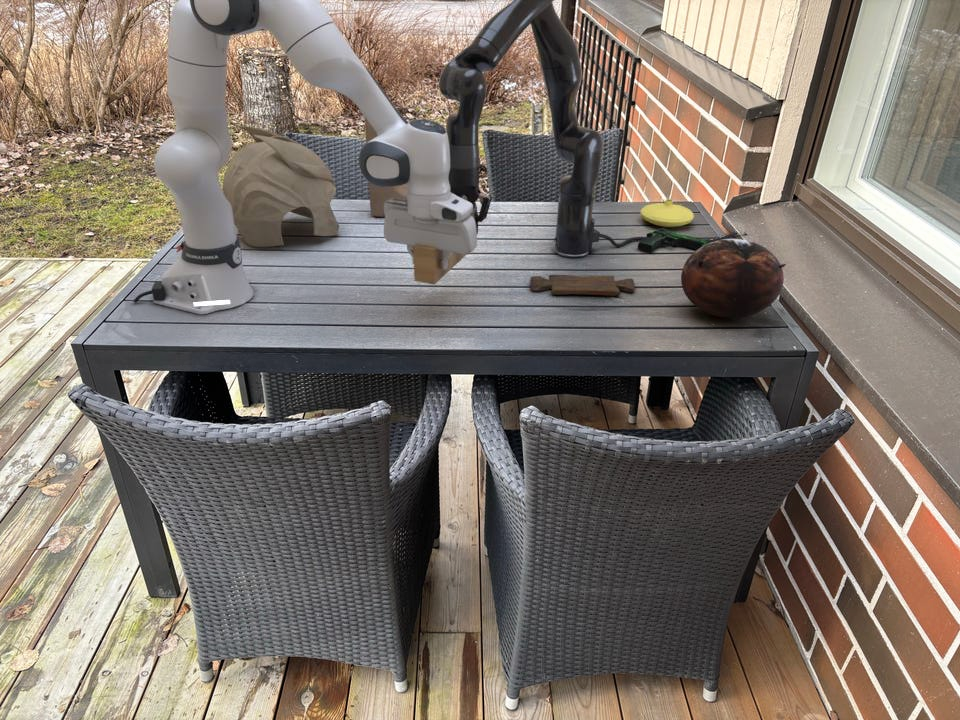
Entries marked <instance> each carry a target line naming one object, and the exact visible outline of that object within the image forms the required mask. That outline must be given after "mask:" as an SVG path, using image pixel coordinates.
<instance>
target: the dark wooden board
mask: <svg viewBox="0 0 960 720" xmlns="http://www.w3.org/2000/svg"><path fill="white" fill-rule="evenodd" d="M529 278H530V285H529V286H530V291H531V292H542V291H547V290H551V294H552V295H556V296H557V295H558V296H559V295H560V296H562V295H588V296H589V295H592V296H612V297H613V296H614V297H615V296H619V295H621V291H623V292H627V293H634V290H635V282H634V279H633V278H625V279H619V280H618V279H617V280H615V276H614V275H573V274H572V275H570V274H549V275H548V279H547V278H546V277H543V276H540V275H534V276H530V277H529Z"/></svg>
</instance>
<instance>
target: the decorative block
mask: <svg viewBox="0 0 960 720" xmlns="http://www.w3.org/2000/svg"><path fill="white" fill-rule="evenodd" d="M363 117H364V133H365V144H367V143H368V142H369V141H370V140H372V139H374V138H375V137H377V136H378V135H377V133H376V131H375V130H374V128H373V127H372V126H371V124H370V123H369V122H368V120H367V119H366V118H365V116H363ZM368 187H369V189H368V191H369V206H370V216H371V217H378V218H385V214H384V204H385V202H386V201H387V200H390V198H395V199H399V200H407V187H406V185H398V186H387V187H380V186H376V185H374V184H372V183H370V182H369V181H368ZM389 203H390V202H389Z"/></svg>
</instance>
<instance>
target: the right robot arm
mask: <svg viewBox="0 0 960 720" xmlns="http://www.w3.org/2000/svg"><path fill="white" fill-rule="evenodd" d="M553 1H554V0H512V1H511V2H510V3H508V4H507V5H506V6H504V7H503V8H502V9H500V10H499V11H498V12H496V13H495V14H494V15H493V16H492V17H490V18H489V20H487V22H486V23H485V24H484V25H483V27H482V28H481V29H480V31H479V32H478V33H477V34H476V36H475V37H474V39H473V40H472V42H470V44H469V45H467V47H465V48H464V49H462V50H461V51H460V52H459V53H457V55H456V56H455V57H454V58H451V60H450V61H449V62H447V64H446V65H445V66H444V68H443V69H442V71H441V73H440V76H439V79H438V89H439V92H440V93H441V95H442V97H444V98H446V99H448V100H451V101H455V102H459V106H458V109H457V112H452V113H450V114H449V115H448V116H447V118H446V122H445V123H446V124H445V125H446V126H445V127H446V128H445V130H446V132H447V135H448V140H449V148H450V172H449V177H448V179H449V184H450V192H451V193H453V194H454V195H456V196H458V197H460V198H462V199H464V200H466V201H468V202H470V203H472V204H473V211H472V213H471V214H470V215H471V216H472V217H473V218H474V220H475V223H476V230H477V235H478V234H479V223H483V221H484V220H486V219H487V217H488V213H489V210H490V206H491V204H492V203H491V202H492V200H493V197H492V195H491V194H485V193H482V192H481V189H480V162H481V159H480V158H481V157H480V145H479V135H480V133H479V130H480V129H479V128H480V127H479V126H480V125H479V124H480V120H481V117H482V113H483V109H484V105H485V102H486V97H487V91H488V86H487V79H486V77H485V75H484V73H485V72H490V71H493V70H494V69H496V68H497V66H498V65H499V64H500V63H501V61H503V58H504V57H505V55H506V54H507V53H508V52H509V50H510V49H511V47H512V46H513V45H514V43H515V42H516V41H517V39H518V38H519V37H520V36H521V34H523V32H525V30H527V28H528V27H529V26H530V27H531V31H532V35H533V39H534V43H535V47H536V50H537V55H538V60H539V61H538V62H539V65H540V70H541V75H542V78H543V82H544V86H545V90H546V95H547V100H548V105H549V109H550V115H551V122H552V132H553V138H554V139H553V140H554V146H555V150H556V153H557V155H558V157H559V158H560V159H561V160H563V161H564V162H567V163H570V164H573V168H572V173H571V174H568V175H565V176H563V177H561V178H560V180H559V185H558V186H559V187H558V196H557V197H558V200H557V213H556V226H555V236H554V239H553V243H554V249H553V251H554V253H555V254H557V255H559V256H560V257H564V258H565V257H566V258H571V259H572V258H573V259H574V258H582V257H586V256H587V255H589V254H592V251H593V243H599V242H600V238H602V239H604V240H607V241H609V242H610V243H611V245H612V246H614V247H616V248H621V247H625V246H626V245H628V244H629V243H630V242H633V241H640V240H642V239H645V238H648V237H646V236H634V237H632V236H631V237H629V238H627V239H625V240H624V241H623V242H621V243H618V242H616V241H615V240H614V239H613V237H611V236H610V235H606V234H603V233H601V232H600V231H599V230H597V229H595V222H596V221H595V218H593V211H594V210H593V209H594V201H595V199H594V198H595V188H596V185H597V182H598V180H599V176H600V171H601V164H602V159H603V149H604V142H603V138H602V135H601V132H599V131H598V130H595V129H593V128H588V127H585V126H581V125H580V123H579V121H578V116H577V110H576V99H577V95H578V93H579V90H580V87H581V84H582V79H583V70H582V69H583V68H582V64H581V58H580V53H579V49H578V46H577V43H576V41H575V40H574V38H573V36H572V35H571V33H570V31H569V30H568V29H567V27H566V26H565V24H564V23H563V21H562V20H561V18H560V17H559V15H558V13H557V11H556V9H555V6H554V4H553ZM478 200H479V203H480V210H479V212H478V206H477V203H476V202H477V201H478ZM725 235H726V236H724V237H721V238H718V239H715V238H716V237H713V238H705V239H704V238H703V239H704V240H708V243H711V242H714V241H718V240H724V239H729V238H731V237H734V236H736V235H737V234H736V233H735V231H733V232H730V233H727V234H725ZM710 239H713V240H710Z"/></svg>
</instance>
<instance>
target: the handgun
mask: <svg viewBox="0 0 960 720" xmlns="http://www.w3.org/2000/svg"><path fill="white" fill-rule="evenodd" d="M645 237H648V238H645V239H642V240H638V244H637V249H638V250H639V251H642V252H646V253H650V254H651V253H652V252H653V251H654V250H655V249H658V248H660V247H663V246H665V247H669V248H670V247H671V248H672V247H684V248H688V249H691V250H692V249H693V250H695V251H696V250H698V249H699V248H701V247H702V246H704V245H706V244H709V242H708V240H704V238H699V237H695V236H690V235H685V234H681V233H677V232H675V231H671V230H668V229H666V228H661V227H660V228H658V229H655V230H654V231H652V232H647V233H646V235H645Z"/></svg>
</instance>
